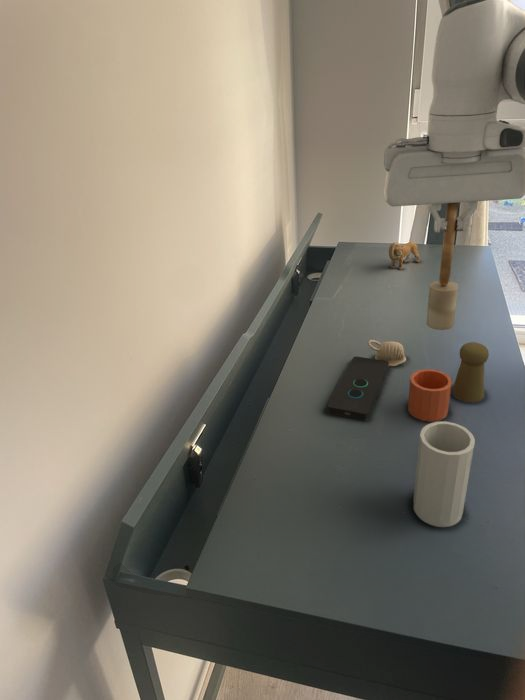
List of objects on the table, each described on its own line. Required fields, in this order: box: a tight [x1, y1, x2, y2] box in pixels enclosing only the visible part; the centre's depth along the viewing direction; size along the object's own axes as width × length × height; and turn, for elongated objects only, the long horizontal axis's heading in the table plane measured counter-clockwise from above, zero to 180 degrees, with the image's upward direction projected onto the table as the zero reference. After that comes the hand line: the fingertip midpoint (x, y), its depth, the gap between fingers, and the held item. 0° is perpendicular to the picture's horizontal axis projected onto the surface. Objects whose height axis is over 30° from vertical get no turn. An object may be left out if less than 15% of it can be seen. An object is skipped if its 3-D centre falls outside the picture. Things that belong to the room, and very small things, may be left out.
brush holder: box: [407, 368, 453, 423], centre depth 100 cm, size 7×7×7 cm
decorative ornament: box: [367, 339, 407, 367], centre depth 117 cm, size 4×8×5 cm, turn 75°
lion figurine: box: [388, 241, 420, 270], centre depth 164 cm, size 15×5×9 cm, turn 135°
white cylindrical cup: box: [412, 421, 476, 528], centre depth 77 cm, size 7×7×14 cm
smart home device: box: [327, 355, 390, 421], centre depth 109 cm, size 8×2×20 cm
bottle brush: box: [425, 202, 459, 331], centre depth 83 cm, size 4×4×22 cm
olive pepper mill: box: [451, 341, 490, 403], centre depth 103 cm, size 6×6×11 cm
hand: (449, 230), depth 81 cm, fingers closed on bottle brush
